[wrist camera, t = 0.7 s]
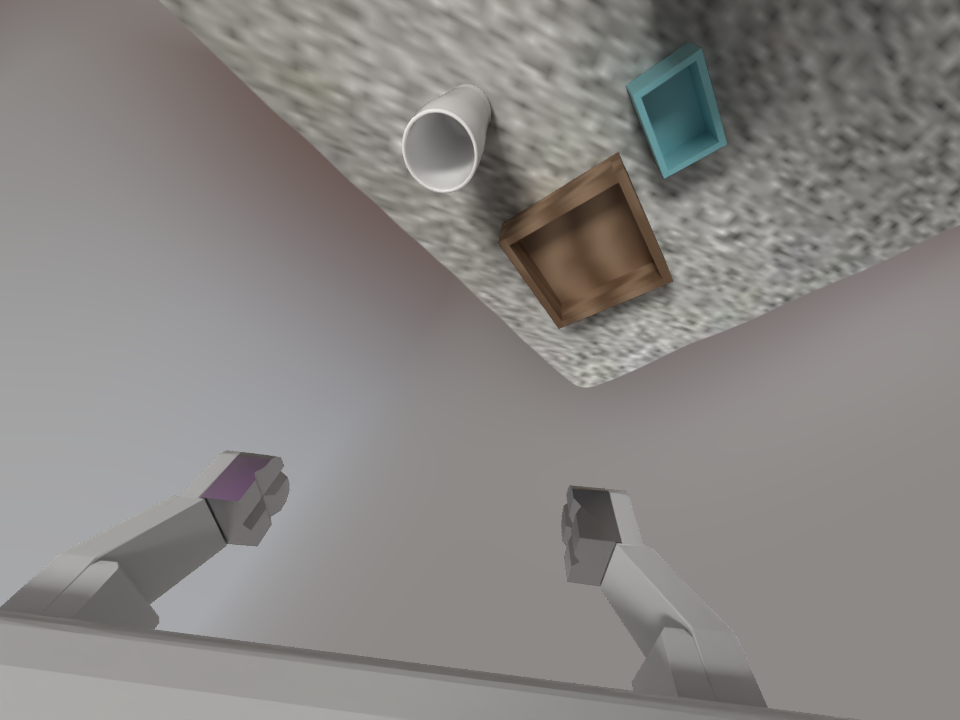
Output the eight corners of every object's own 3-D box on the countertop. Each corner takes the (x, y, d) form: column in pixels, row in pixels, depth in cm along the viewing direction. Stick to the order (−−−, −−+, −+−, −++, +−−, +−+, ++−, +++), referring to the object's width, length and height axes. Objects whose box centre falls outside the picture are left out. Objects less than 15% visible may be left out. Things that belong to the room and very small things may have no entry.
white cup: (510, 104, 42) (494, 146, 31) (475, 157, 46) (451, 209, 35) (460, 58, 39) (425, 86, 29) (428, 117, 44) (387, 161, 33)
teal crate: (687, 41, 36) (701, 48, 33) (712, 130, 41) (727, 144, 37) (625, 85, 39) (632, 95, 36) (655, 163, 44) (664, 179, 40)
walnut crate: (618, 152, 43) (624, 168, 40) (664, 258, 52) (673, 281, 48) (502, 223, 51) (498, 243, 47) (558, 306, 60) (558, 328, 56)
